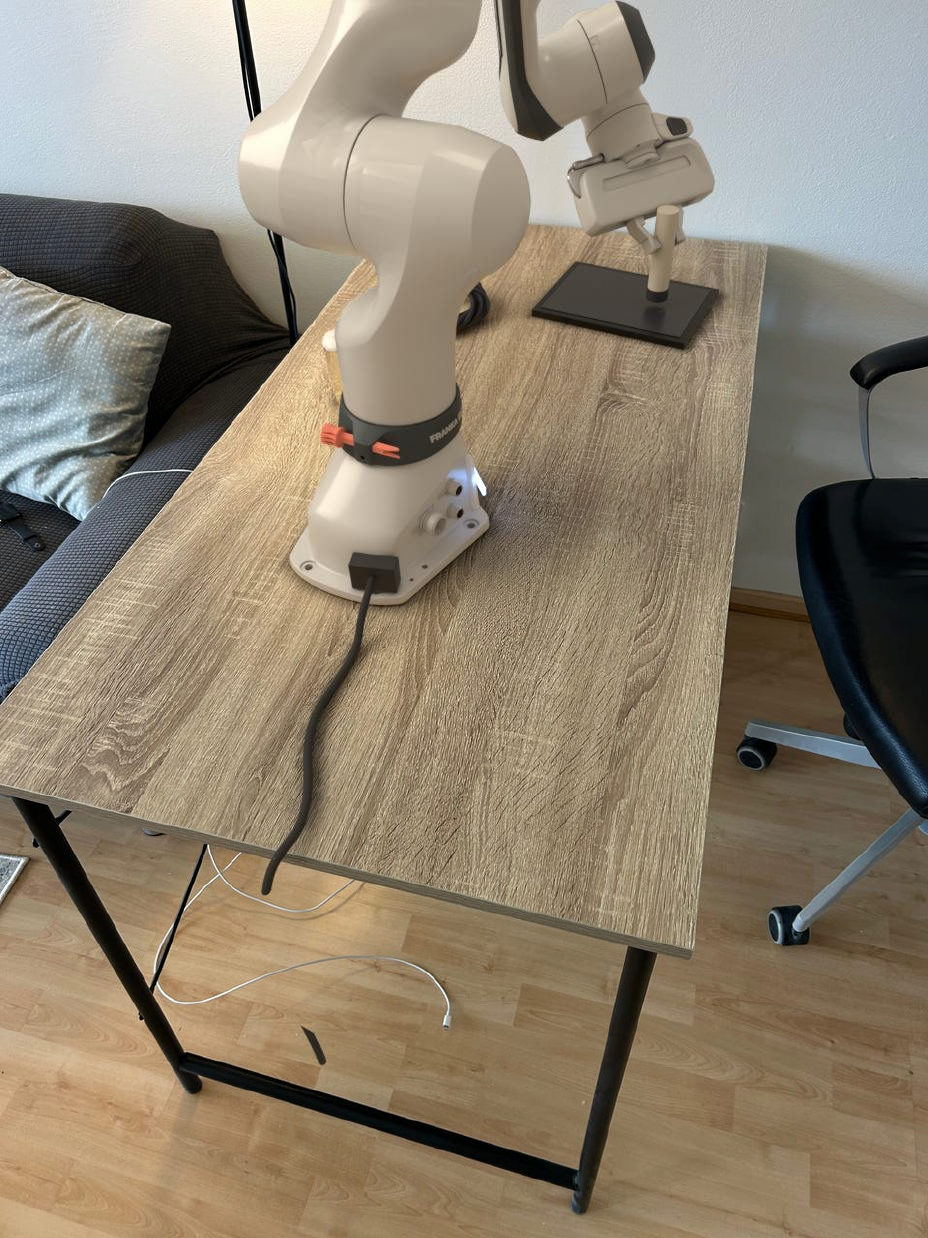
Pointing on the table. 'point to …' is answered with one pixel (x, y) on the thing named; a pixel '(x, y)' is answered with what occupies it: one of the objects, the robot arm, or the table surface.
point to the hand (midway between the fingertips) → (666, 247)
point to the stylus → (662, 254)
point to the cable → (474, 308)
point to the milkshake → (332, 362)
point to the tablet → (625, 305)
